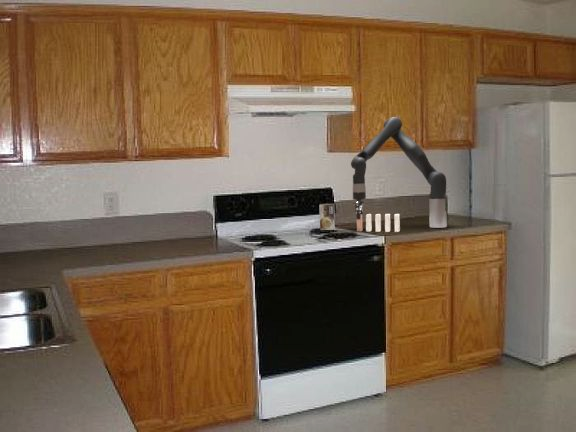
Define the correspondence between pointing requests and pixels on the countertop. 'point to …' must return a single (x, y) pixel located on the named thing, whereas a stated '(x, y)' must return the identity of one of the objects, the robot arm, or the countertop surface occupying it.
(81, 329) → the countertop surface
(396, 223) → the domino
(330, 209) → the coffee box
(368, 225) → the domino
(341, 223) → the countertop surface
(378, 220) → the domino
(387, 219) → the domino
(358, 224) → the domino
